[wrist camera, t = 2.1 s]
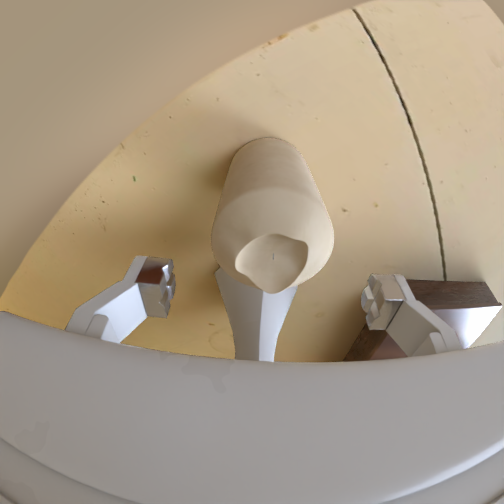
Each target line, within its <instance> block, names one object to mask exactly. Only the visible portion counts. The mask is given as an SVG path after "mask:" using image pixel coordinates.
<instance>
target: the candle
mask: <svg viewBox="0 0 504 504" xmlns="http://www.w3.org/2000/svg"><path fill="white" fill-rule="evenodd" d="M333 245H334V231H333V226H332V223H331V220H330V218H329V215H328V213H327V210H326V208H325V205H324V203H323V200H322V198H321V195H320V193H319V191H318V188H317V186H316V184H315V181H314V179H313V177H312V174H311V172H310V170H309V168H308V165H307V163H306V161H305V160H304V158H303V156H302V155H301V153H300V152H299V151H298V150H297V149H296V148H295V147H294V146H292V145H291V144H289V143H288V142H286V141H283V140H280V139H276V138H260V139H256V140H254V141H251V142H249V143H247V144H246V145H244V146H243V147H242V148H241V149H240V150H239V151H238V152H237V153H236V155H235V156H234V158H233V159H232V162H231V164H230V167H229V170H228V174H227V177H226V181H225V184H224V188H223V191H222V195H221V198H220V202H219V205H218V209H217V213H216V216H215V220H214V224H213V228H212V233H211V247H212V251H213V255H214V257H215V259H216V261H217V262H218V264H219V265H220V267H221V268H222V269H223V270H224V271H225V272H226V273H227V274H228V275H229V276H231V277H232V278H234V279H235V280H237V281H239V282H241V283H243V284H245V285H248V286H250V287H254V288H257V289H260V290H263V291H264V292H266V293H269V294H276V293H280V292H281V291H283V290H285V289H287V288H290V287H293V286H296V285H298V284H301V283H303V282H304V281H306V280H308V279H310V278H311V277H312V276H314V275H315V274H316V273H317V272H319V271H320V270H321V269H322V267H323V266H324V265H325V264H326V262H327V261H328V259H329V257H330V255H331V252H332V249H333Z"/></svg>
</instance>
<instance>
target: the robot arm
mask: <svg viewBox="0 0 504 504" xmlns="http://www.w3.org/2000/svg"><path fill="white" fill-rule="evenodd" d="M173 268H174V266H173V260H172V259H167V258H158V257H150V256H149V257H147V256H139V255H137V256H136V257H135V258H134V260H133V262H132V263H131V265H130V267H129V269H128V271H127V273H126V275H125V276H124V278H123V280H122V281H118V282H117V283H115V284H113V285H112V286H110V287H109V288H107V289H105V290H104V291H102V292H101V293H99V294H98V295H96V296H95V297H93V298H91V299H90V300H88V301H87V302H85V303H84V304H82V305H81V306H79V307H78V308H76V310H75V312H74V313H73V315H72V317H71V319H70V321H69V323H68V325H67V327H66V328H65V330H62V329H58V328H55V327H51V326H48V325H44V324H41V323H38V322H35V321H32V320H29V319H26V318H23V317H20V316H17V315H14V314H12V313H9V312H6V311H0V504H504V341H500V342H496V343H492V344H487V345H483V346H478V347H473V348H468V349H462V347H461V344H460V342H459V340H458V338H457V335H456V333H455V331H454V330H453V329H452V328H451V327H450V326H449V325H448V324H446V323H445V322H444V321H443V320H442V319H441V318H439V317H438V316H437V315H436V314H435V313H433V312H432V311H431V310H430V309H428V308H427V307H426V306H425V305H424V304H422V303H421V302H420V301H416V299H415V297H414V295H413V293H412V291H411V289H410V287H409V285H408V283H407V282H406V280H405V278H404V276H403V275H394V274H392V275H387V274H371V275H370V277H369V279H368V283H369V285H368V286H367V287H366V288H364V290H363V293H362V297H361V305H362V308H363V310H364V311H365V312H366V313H367V316H366V321H367V324H368V328H369V330H386V331H387V333H388V334H389V335H390V336H391V337H392V338H393V340H394V341H395V342H396V343H397V344H398V345H399V347H400V348H401V349H402V350H403V351H404V352H405V354H406V355H407V356H408V357H405V358H395V359H383V360H369V361H350V362H272V361H252V360H238V359H225V358H215V357H205V356H196V355H188V354H180V353H173V352H166V351H160V350H153V349H147V348H142V347H136V346H131V345H126V344H121V343H120V342H121V341H122V340H123V339H124V338H125V337H126V336H128V335H129V334H130V333H131V332H132V331H133V330H134V329H135V328H136V327H137V326H138V325H139V324H140V323H141V322H142V321H144V320H145V319H146V318H147V316H150V317H159V318H167V316H168V312H169V309H170V300H171V299H172V298H173V296H174V293H175V286H176V282H175V275H174V274H173V273H172V271H173Z"/></svg>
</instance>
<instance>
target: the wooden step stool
mask: <svg viewBox="0 0 504 504" xmlns="http://www.w3.org/2000/svg"><path fill="white" fill-rule="evenodd" d="M405 280H406V282H407V283H408V285H409V287H410V289H411V291H412V293H413V295H414V297H415V299H416V301H420V302H421V303H422V304H424V305H425V306H426V307H427V308H428V309H430V310H431V311H432V312H433V313H435V314H436V315H437V316H438V317H439V318H441V319H442V320H443V321H444V322H445V323H446V324H448V325H449V326H450V327H451V328H452V329H453V330H454V331H455V333H456V335H457V338H458V340H459V342H460V344H461V347H462V349H467V348H468V347H469V346H470V345H471V344H472V343H473V342H474V341H475V340H476V338H477V337H478V336H479V335H480V334H481V332H482V331H483V330H484V329H485V328H486V326H487V325H488V324H489V323H490V321H491V320H492V319H493V318H494V316H495V315H496V314H497V312H498V311H499V310H500V308H501V307H502V304H501V303H498V302H497V300H496V298H495V297H494V295H493V293H492V292H491V290H490V289H489V287H488V286H487V284H486V283H485V282H458V281H430V280H407V279H405ZM405 357H408V356H407V355H406V354H405V352H404V351H403V350H402V349H401V348H400V347H399V345H398V344H397V343H396V342H395V341H394V340H393V338H392V337H391V336H390V335H389V334H388V333H387V331H386V330H369V328H368V324H367V322H366V324H365V326H364V328H363V329H362V331H361V333H360V335H359V336H358V338H357V340H356V341H355V343H354V345H353V346H352V348H351V349H350V351H349V353H348V354H347V356H346V357H345V359H344V360H343V362H350V361H369V360H383V359H395V358H405Z"/></svg>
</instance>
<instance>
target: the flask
mask: <svg viewBox="0 0 504 504" xmlns="http://www.w3.org/2000/svg"><path fill="white" fill-rule="evenodd" d="M214 274H215V277H216V281H217V284H218V287H219V290H220V293H221V295H222V298H223V301H224V304H225V308H226V311H227V314H228V317H229V321H230V324H231V327H232V330H233V338H234V345H235V359H238V360H252V361H272V362H274V353H275V348H276V343H277V338H278V335H279V332H280V330H281V327H282V324H283V322H284V319H285V317H286V314H287V312H288V309H289V307H290V305H291V302H292V300H293V298H294V295H295V293H296V290H297V285H296V286H293V287H290V288H287V289H285V290H283V291H281V292H280V293H276V294H269V293H266V292H264V291H263V290H260V289H257V288H254V287H250V286H248V285H245V284H243V283H241V282H239V281H237V280H235V279H234V278H232V277H231V276H229V275H228V274H227V273H226V272H225V271H224V270H223V269H222V268H221V267H220V268H219V269H218V270H217V271H216V272H215V273H214Z"/></svg>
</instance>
